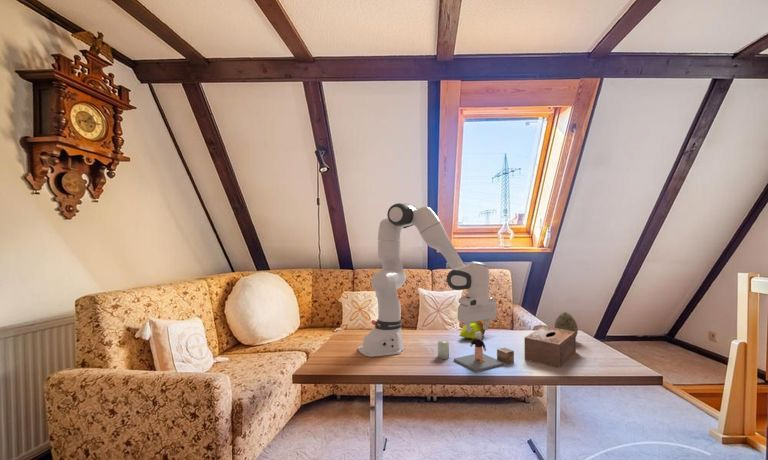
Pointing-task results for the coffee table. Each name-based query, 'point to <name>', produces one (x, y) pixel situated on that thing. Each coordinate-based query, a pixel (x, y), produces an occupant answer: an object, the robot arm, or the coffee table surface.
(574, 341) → the tissue box cover
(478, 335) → the grandmother figurine
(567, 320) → the decorative egg
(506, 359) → the walnut block
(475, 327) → the plumb bob
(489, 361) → the slate mat
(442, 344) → the sage green capsule
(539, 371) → the coffee table surface
